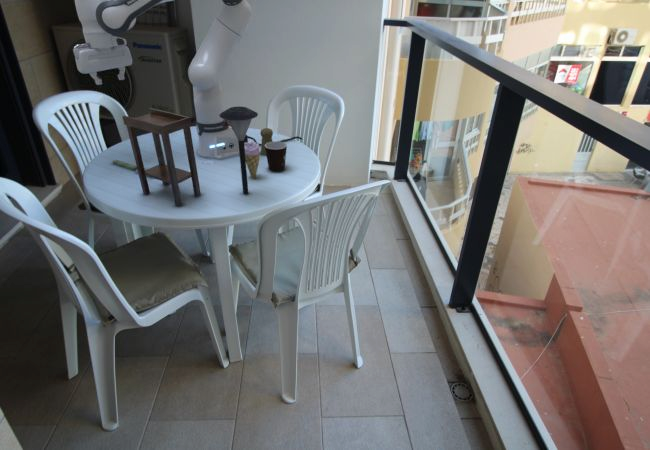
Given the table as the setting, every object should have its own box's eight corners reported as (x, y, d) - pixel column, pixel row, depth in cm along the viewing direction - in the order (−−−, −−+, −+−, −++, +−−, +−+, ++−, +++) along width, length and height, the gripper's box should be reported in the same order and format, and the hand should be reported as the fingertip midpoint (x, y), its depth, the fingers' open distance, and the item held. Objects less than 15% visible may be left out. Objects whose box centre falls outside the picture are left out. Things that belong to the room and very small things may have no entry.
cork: (272, 156, 169) (271, 132, 163) (258, 155, 170) (257, 130, 164) (276, 151, 174) (275, 127, 168) (263, 150, 175) (262, 126, 169)
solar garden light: (247, 182, 147) (240, 101, 131) (270, 193, 140) (265, 109, 124) (221, 193, 139) (210, 109, 123) (243, 205, 132) (235, 117, 116)
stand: (141, 194, 137) (122, 116, 122) (166, 182, 145) (151, 107, 130) (178, 208, 130) (162, 126, 115) (202, 194, 138) (190, 117, 123)
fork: (110, 164, 157) (110, 161, 157) (118, 161, 160) (117, 158, 160) (152, 178, 148) (151, 175, 147) (159, 174, 150) (159, 172, 150)
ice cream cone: (246, 182, 147) (243, 144, 139) (241, 176, 152) (238, 138, 144) (263, 179, 150) (261, 141, 142) (258, 173, 154) (255, 136, 146)
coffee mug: (278, 175, 153) (277, 151, 148) (261, 169, 157) (260, 146, 152) (296, 165, 162) (295, 142, 156) (279, 160, 165) (278, 137, 160)
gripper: (77, 45, 131) (90, 88, 138) (129, 39, 146) (139, 77, 153) (65, 44, 133) (79, 86, 141) (118, 38, 148) (128, 76, 156)
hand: (110, 81), depth 147 cm, fingers open, 8 cm apart
